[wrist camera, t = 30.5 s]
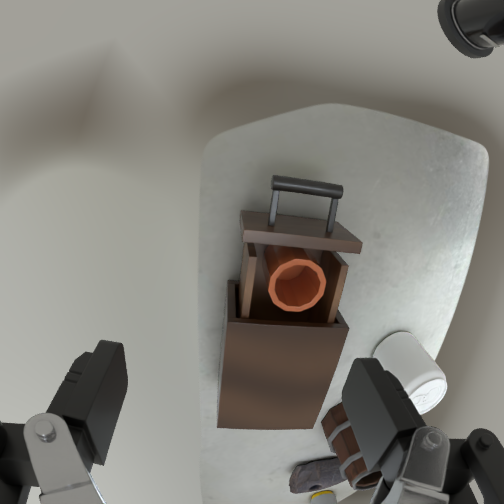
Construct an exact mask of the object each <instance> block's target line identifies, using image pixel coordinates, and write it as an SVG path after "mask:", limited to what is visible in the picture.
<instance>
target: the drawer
mask: <svg viewBox="0 0 504 504" xmlns="http://www.w3.org/2000/svg"><path fill="white" fill-rule="evenodd" d="M271 189H272V190H273V191H272V198H271V205H270V212H269V213H260V212H251V211H241V214H240V227H241V236H242V242H244V249H243V257H242V265H241V273H240V282H239V290H238V298H237V307H236V318H242V319H256V320H271V321H288V322H308V323H334V320H335V317H336V313H337V309H338V306H339V302H340V298H341V295H342V291H343V287H344V283H345V279H346V275H347V271H348V267H349V266H348V264H347V263H346V262H345V261H344V260H343V259H342V258H341V257H340V255H339V254H338V253H337V252H346V253H355V254H360V252H361V248H362V242H361V241H360V240H359V239H358V238H356V237H355V236H354V235H353V234H352V233H350V232H349V231H348V230H347V229H346V228H344V227H343V226H342V225H341V224H339V223H338V222H334V221H335V216H336V211H337V205H338V199H341V198H342V195H343V186H342V185H337V184H331V183H325V182H319V181H313V180H306V179H299V178H292V177H285V176H278V175H273V176H272V180H271ZM279 190H280V191H288V192H295V193H302V194H310V195H316V196H323V197H330V198H332V199H331V204H330V210H329V215H328V221H326V220H318V219H311V218H303V217H294V216H286V215H278V214H276V212H277V205H278V199H279V192H280V191H279ZM269 245H279V246H288V247H298V248H308V249H309V251H310V252H311V254H312V255H313V256H314V258H315V259H316V261H317V262H318V264H319V265H320V267H321V268H322V270H323V273H324V276H325V279H326V285H325V290H324V294H323V296H322V297H321V298H320V299H319V300H318V302H317V303H316V304H315V305H314V306H313V307H310V308H308V309H305V310H303V311H301V312H295V311H285V310H283V309H282V308H280V307H278V306H277V305H275V304H274V303H273V301H272V299H271V297H270V294H269V292H268V289H267V284H266V280H265V276H264V272H263V268H262V258H263V254H264V252H265V250H266V248H267V247H268V246H269ZM336 251H337V252H336Z"/></svg>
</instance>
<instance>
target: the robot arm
mask: <svg viewBox="0 0 504 504" xmlns="http://www.w3.org/2000/svg"><path fill="white" fill-rule="evenodd" d="M450 12H451V18H452V21H453V24H454V26H455V28H456V30H457V31H458V33H459V34H460V36H461V37H462V38H463V39H464V41H465V42H467V43H468V44H469V45H470V46H472V47H473V48H475V49H479V50H483V49H487V48H490V47H499V46H500V45H504V0H456V1H454V2H453V3H452V5H451V9H450ZM127 386H128V376H127V369H126V362H125V355H124V347H123V344H122V343H118V342H112V341H106V340H100V341H99V343H98V345H97V347H96V349H95V350H94V352H93V353H90V352H85V353H83V354H82V355H81V356H79V357H78V358H77V359H76V360H75V361H74V363H73V364H72V366H71V368H70V370H69V372H68V373H67V375H66V376H65V379H64V381H63V382H62V384H61V386H60V387H59V389H58V391H57V393H56V395H55V397H54V398H53V400H52V402H51V404H50V406H49V408H48V410H47V411H46V413H41V414H37V415H35V416H33V417H31V418H30V419H29V420H28V421H27V422H26V424H15V423H2V422H1V421H0V504H26V502H27V499H28V495H29V492H30V488H31V486H35V487H40V489H41V494H40V495H39V498H40V502H41V504H106V502H105V500H104V498H103V497H102V495H101V493H100V491H99V489H98V487H97V486H96V484H95V482H94V480H93V478H92V476H91V474H90V472H91V469H92V465H93V463H95V464H99V465H103V466H104V463H105V460H106V456H107V453H108V449H109V446H110V443H111V439H112V436H113V433H114V429H115V426H116V423H117V420H118V417H119V414H120V411H121V408H122V404H123V401H124V398H125V395H126V392H127ZM342 404H343V407H344V409H345V412H346V414H347V417H348V419H349V422H350V425H351V427H352V430H353V432H354V435H355V438H356V440H357V443H358V445H359V448H360V451H361V453H362V456H363V459H364V461H365V464H366V467H367V469H368V472H369V473H371V472H376V471H381V472H382V475H383V476H382V477H381V478H380V480H379V482H378V484H377V487H376V489H375V491H374V494H373V496H372V498H371V501H370V503H369V504H478V503H477V500H476V498H475V496H474V494H473V492H472V490H471V488H470V486H469V483H470V482H471V481H472V480H473V479H475V481H476V483H477V485H478V487H479V489H480V491H481V493H482V495H483V498H484V504H504V448H503V446H502V445H501V443H500V441H499V440H498V438H497V437H496V436H495V435H494V434H493V433H492V432H491V431H489V430H487V429H482V428H479V429H475V430H473V431H472V432H471V433H470V435H469V436H468V437H467V439H449V438H448V436H447V435H446V434H445V433H444V432H443V431H442V430H440V429H438V428H436V427H432V426H426V424H425V422H424V421H423V419H422V417H421V415H420V414H419V412H418V410H417V409H416V407H415V405H414V404H413V402H412V401H411V399H410V398H409V396H408V394H407V392H406V391H405V390H404V388H403V386H402V384H401V383H400V381H399V379H398V378H397V377H395V376H394V375H393V374H392V373H391V372H389V371H388V370H384V369H383V367H382V365H381V364H380V362H379V360H378V359H377V358H356V359H355V360H354V362H353V364H352V366H351V369H350V372H349V374H348V377H347V380H346V382H345V385H344V387H343V390H342Z"/></svg>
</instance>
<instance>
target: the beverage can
mask: <svg viewBox="0 0 504 504" xmlns="http://www.w3.org/2000/svg"><path fill="white" fill-rule="evenodd" d="M373 358H377V359H378V360H379V362H380V364H381V365H382V367H383V369H384V370H388V371H389V372H391V373H392V374H393V375H394V376H395V377H397V378H398V379H399V381H400V383H401V384H402V386H403V388H404V390H405V391H406V392H407V394H408V396H409V398H410V399H411V401H412V402H413V404H414V405H415V407H416V409H417V410H418V412H419V414H420V415H421V414H424V413H426V412H428V411H429V410H431V409H432V408H433V407H434V406H436V405H437V404H438V403H439V402H440V401H441V399H442V398H443V397H444V395H445V393H446V390H447V383H446V377H445V374H444V373H443V372H442V370H441V369H440V368H439V366H438V365H437V364H436V363H435V361H434V360H433V359H432V358H431V356H430V355H429V354H428V353H427V351H426V350H425V349H424V348H423V346H422V345H421V344H420V343H419V342H418V340H417V339H416V338H415V337H414V336H413V335H412V334H411V333H409V332H397V333H394V334H392V335H390V336H388V337H387V338H386V339H384V340H383V341H382V342H381V343H380V344H379V345H378V347H377V348H376V350H375V352H374V354H373Z"/></svg>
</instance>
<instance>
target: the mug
mask: <svg viewBox="0 0 504 504" xmlns="http://www.w3.org/2000/svg"><path fill="white" fill-rule="evenodd" d="M321 423H322V427H323V430H324V433H325V436H326V439H327V441H328V444H329V447H330V450H331V452H333V453H336V454H337V456H338V459H339V461H340V463H341V466H340V468H339V469H340V473H341V476H342V478H343V479H348V481H349V484H350V486H351V487H353V489H354V490H363V491H364V490H368V489H372V488H375V487H377V484H378V482H379V480H380V478H381V477H382V476H383V475H382V472H381V471H376V472H371V473H369V472H368V469H367V467H366V464H365V461H364V459H363V456H362V453H361V451H360V448H359V445H358V443H357V440H356V438H355V435H354V432H353V430H352V427H351V425H350V422H349V419H348V417H347V414H346V412H345V409H344V407H343V404H342V403H340V404H339V405H337V406H335V407H334V408H332V409H330V410H329V412H328V413H327V415H326V416H325V418H324V419H323V421H322V422H321Z"/></svg>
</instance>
